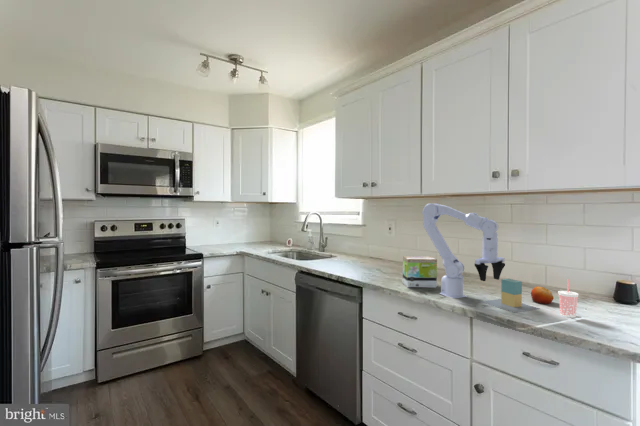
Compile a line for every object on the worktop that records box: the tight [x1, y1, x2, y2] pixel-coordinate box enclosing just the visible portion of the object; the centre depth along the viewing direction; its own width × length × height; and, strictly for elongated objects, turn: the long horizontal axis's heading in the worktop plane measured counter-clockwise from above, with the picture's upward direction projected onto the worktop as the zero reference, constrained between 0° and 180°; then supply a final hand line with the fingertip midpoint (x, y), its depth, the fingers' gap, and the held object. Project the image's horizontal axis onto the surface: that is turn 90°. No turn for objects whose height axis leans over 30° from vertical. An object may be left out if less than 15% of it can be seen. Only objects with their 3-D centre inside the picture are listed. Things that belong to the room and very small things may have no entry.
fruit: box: [530, 285, 554, 305], centre depth 140 cm, size 8×8×8 cm
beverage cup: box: [557, 278, 579, 320], centre depth 123 cm, size 6×6×14 cm
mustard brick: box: [500, 290, 523, 307], centre depth 136 cm, size 6×4×5 cm, turn 20°
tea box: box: [402, 255, 438, 289], centre depth 172 cm, size 15×10×15 cm, turn 91°
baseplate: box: [480, 298, 541, 314], centre depth 136 cm, size 16×14×1 cm
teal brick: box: [500, 278, 523, 295], centre depth 136 cm, size 6×4×5 cm, turn 21°
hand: (489, 279), depth 142 cm, fingers open, 7 cm apart
